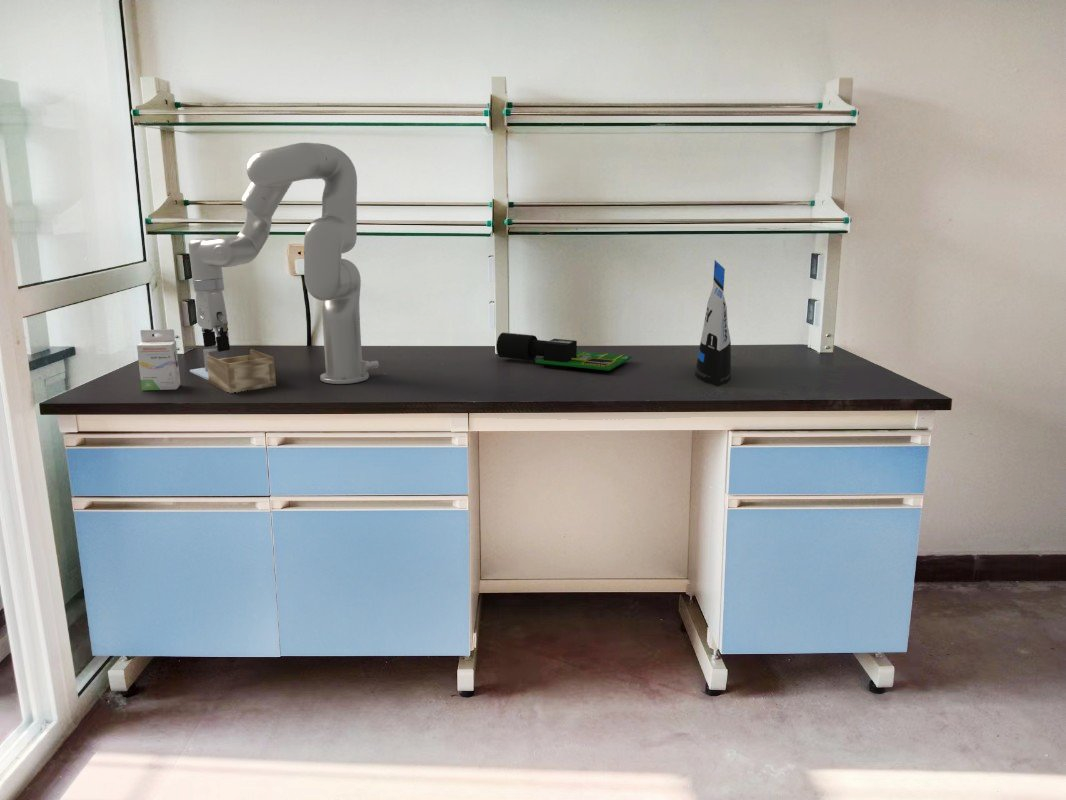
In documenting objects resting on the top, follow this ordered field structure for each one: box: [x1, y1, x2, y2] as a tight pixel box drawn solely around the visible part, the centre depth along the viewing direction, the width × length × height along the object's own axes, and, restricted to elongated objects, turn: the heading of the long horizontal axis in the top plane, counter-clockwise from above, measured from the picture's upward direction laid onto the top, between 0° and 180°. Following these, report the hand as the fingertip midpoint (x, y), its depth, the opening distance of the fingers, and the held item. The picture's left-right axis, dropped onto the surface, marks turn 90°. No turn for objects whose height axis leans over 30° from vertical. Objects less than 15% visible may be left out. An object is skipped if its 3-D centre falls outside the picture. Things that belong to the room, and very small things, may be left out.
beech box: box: [206, 348, 277, 394], centre depth 213 cm, size 12×14×8 cm
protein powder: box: [694, 259, 732, 388], centre depth 220 cm, size 10×24×30 cm, turn 174°
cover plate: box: [189, 347, 229, 381], centre depth 226 cm, size 10×13×7 cm
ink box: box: [136, 328, 181, 391], centre depth 209 cm, size 9×5×15 cm, turn 101°
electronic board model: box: [495, 332, 633, 372], centre depth 238 cm, size 36×8×18 cm
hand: (217, 348), depth 225 cm, fingers open, 9 cm apart
